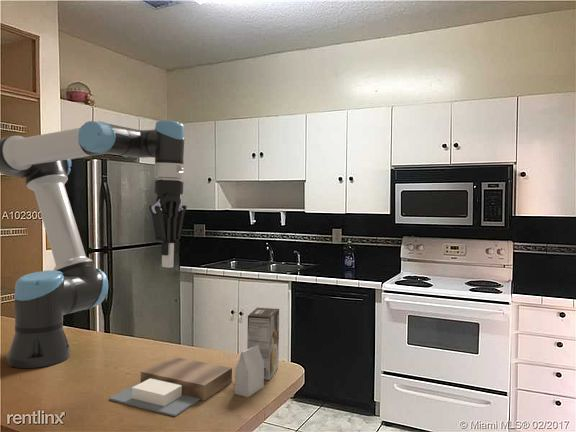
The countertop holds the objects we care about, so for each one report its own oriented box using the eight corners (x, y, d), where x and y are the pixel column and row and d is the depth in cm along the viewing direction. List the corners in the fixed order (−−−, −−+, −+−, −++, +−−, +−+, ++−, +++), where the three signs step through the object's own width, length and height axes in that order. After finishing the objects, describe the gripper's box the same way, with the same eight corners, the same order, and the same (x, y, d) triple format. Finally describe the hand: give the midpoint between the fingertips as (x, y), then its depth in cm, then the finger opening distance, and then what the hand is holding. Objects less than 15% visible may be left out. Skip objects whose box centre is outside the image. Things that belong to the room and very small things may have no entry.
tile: (131, 398, 105) (131, 387, 105) (150, 388, 110) (150, 378, 110) (164, 406, 101) (164, 395, 101) (181, 395, 106) (181, 385, 106)
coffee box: (255, 365, 128) (256, 306, 127) (278, 367, 126) (280, 308, 126) (246, 378, 119) (247, 315, 118) (270, 380, 117) (272, 316, 117)
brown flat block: (140, 386, 112) (140, 371, 112) (172, 369, 123) (172, 356, 123) (204, 400, 105) (204, 385, 105) (231, 381, 116) (232, 367, 116)
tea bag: (263, 387, 113) (264, 346, 113) (247, 397, 108) (248, 353, 107) (250, 383, 115) (251, 343, 115) (234, 393, 109) (235, 351, 109)
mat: (109, 399, 104) (109, 397, 104) (136, 385, 112) (136, 383, 112) (175, 416, 97) (175, 414, 97) (199, 400, 105) (199, 398, 105)
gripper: (164, 178, 119) (163, 271, 120) (195, 180, 131) (193, 265, 132) (141, 178, 122) (140, 268, 123) (173, 180, 134) (171, 262, 135)
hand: (167, 266), depth 128 cm, fingers closed
